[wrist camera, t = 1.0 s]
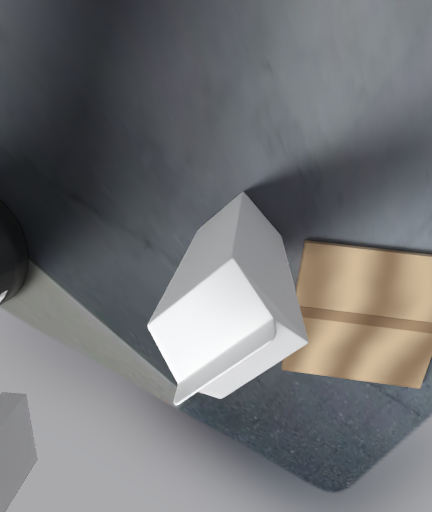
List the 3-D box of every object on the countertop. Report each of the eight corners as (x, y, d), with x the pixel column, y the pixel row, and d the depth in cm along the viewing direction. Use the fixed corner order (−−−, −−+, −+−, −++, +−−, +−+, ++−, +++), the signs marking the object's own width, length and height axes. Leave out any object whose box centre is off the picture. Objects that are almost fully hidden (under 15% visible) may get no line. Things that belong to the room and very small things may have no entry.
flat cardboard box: (281, 365, 41) (282, 370, 40) (304, 240, 35) (306, 242, 35) (416, 383, 40) (420, 388, 39) (461, 257, 35) (465, 260, 34)
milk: (198, 228, 36) (121, 362, 16) (244, 189, 34) (225, 281, 14) (237, 272, 37) (213, 449, 17) (283, 236, 36) (321, 386, 15)
